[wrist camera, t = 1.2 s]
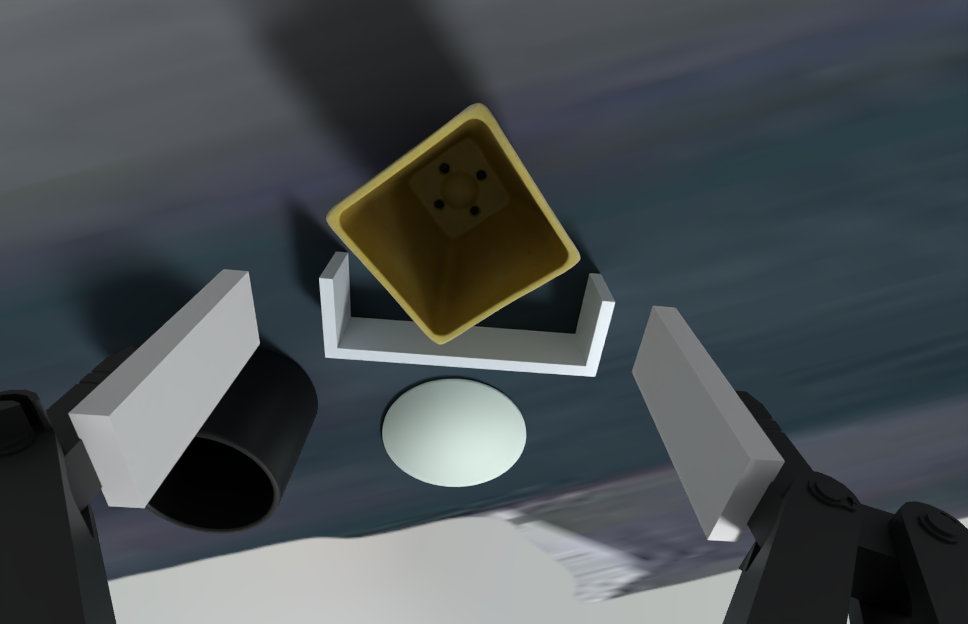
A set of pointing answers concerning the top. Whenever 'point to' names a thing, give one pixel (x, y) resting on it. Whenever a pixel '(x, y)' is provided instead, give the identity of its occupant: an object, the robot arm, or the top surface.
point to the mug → (242, 450)
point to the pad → (454, 432)
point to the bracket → (463, 335)
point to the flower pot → (455, 227)
